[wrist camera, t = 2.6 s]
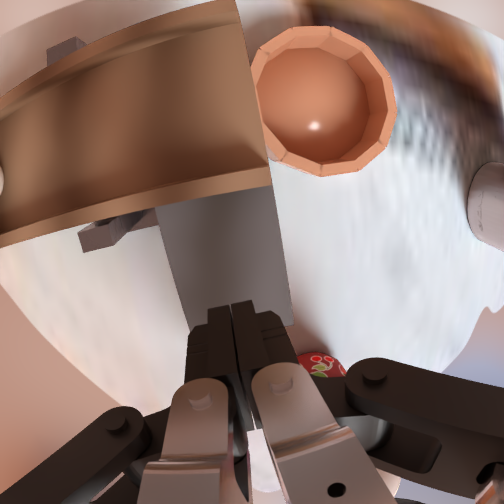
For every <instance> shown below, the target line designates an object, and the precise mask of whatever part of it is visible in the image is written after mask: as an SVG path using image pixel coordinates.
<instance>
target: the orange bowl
mask: <svg viewBox="0 0 504 504" xmlns="http://www.w3.org/2000/svg"><path fill="white" fill-rule="evenodd" d="M365 45H366V44H365V43H363V42H361V41H359V40H357V39H356V38H354V37H352V36H350V35H348V34H346V33H344V32H342V31H340V30H338V29H336V28H334V27H331V28H330V26H300V27H292V28H291V27H290V28H289V29H287V30H285V31H284V32H282V33H281V34H279V35H277V36H276V37H274V38H273V39H271V40H270V41H268V42H267V43H265V44H264V45H262V46H261V47H259V49H258V50H257V53H256V55H255V57H254V60H253V62H252V64H251V67H250V68H251V73H252V78H253V83H254V88H255V93H256V98H257V103H258V108H259V113H260V118H261V124H262V129H263V134H264V140H265V145H266V151H267V156H268V157H269V158H270V159H271V160H272V161H275V162H278V163H280V164H283V165H286V166H288V167H291V168H293V169H296V170H299V171H301V172H304V173H307V174H311V175H315V176H319V177H324V176H331V175H337V174H344V173H351V172H358V171H360V170H361V169H362V168H363V167H365V166H366V165H367V164H368V163H369V162H370V161H372V160H373V159H374V158H375V157H376V156H377V155H378V154H380V153H381V152H382V151H383V150H384V149H385V147H387V144H388V141H389V138H390V135H391V132H392V129H393V126H394V123H395V120H396V116H397V114H396V113H395V112H397V107H396V102H395V96H394V91H393V86H392V81H391V77H388V76H389V73H388V72H387V70H386V69H385V68H384V66H383V65H382V64H381V62H380V61H379V60H378V58H377V57H376V56H375V54H374V53H373V52H372V51H371V49H370V48H369V47H368V46H365Z"/></svg>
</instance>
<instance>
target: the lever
mask: <svg viewBox="0 0 504 504" xmlns="http://www.w3.org/2000/svg"><path fill="white" fill-rule="evenodd" d="M0 167H1V168H2V171H3V176H4V185H3V190H2V192H1V195H0V248H2V247H6V246H9V245H12V244H15V243H18V242H22V241H25V240H28V239H32V238H35V237H39V236H42V235H46V234H49V233H53V232H56V231H60V230H64V229H67V228H71V227H75V226H79V225H82V224H86V223H90V222H94V221H98V220H102V219H106V218H110V217H114V216H119V215H123V214H127V213H131V212H136V211H140V210H144V209H149V208H153V207H155V211H156V215H157V219H158V223H159V227H160V231H161V235H162V238H163V242H164V246H165V250H166V253H167V257H168V260H169V264H170V267H171V271H172V274H173V278H174V281H175V285H176V288H177V291H178V295H179V298H180V301H181V304H182V308H183V311H184V314H185V317H186V320H187V323H188V326H189V329H190V332H191V331H192V330H193V328H194V327H195V326H197V325H202V324H207V310H208V309H209V308H214V307H219V306H223V305H228V304H229V306H230V310H231V304H233V303H237V302H242V301H247V300H252V302H253V305H254V309H255V312H256V313H260V312H265V311H269V310H271V311H273V312H274V313H276V314H277V315H278V316H280V318H281V320H282V323H283V325H284V326H291V325H294V320H293V312H292V305H291V298H290V291H289V284H288V278H287V271H286V264H285V258H284V251H283V245H282V239H281V233H280V226H279V220H278V214H277V208H276V202H275V196H274V190H273V185H272V179H271V173H270V167H269V162H268V156H267V151H266V145H265V140H264V134H263V129H262V124H261V118H260V113H259V108H258V103H257V98H256V93H255V88H254V83H253V78H252V73H251V68H250V63H249V58H248V53H247V48H246V44H245V39H244V34H243V30H242V25H241V21H240V16H239V13H238V9H237V6H236V2H235V0H215V1H210V2H206V3H202V4H198V5H194V6H190V7H187V8H183V9H180V10H176V11H173V12H170V13H167V14H163V15H160V16H157V17H154V18H152V19H149V20H146V21H143V22H140V23H138V24H135V25H132V26H130V27H127V28H125V29H122V30H120V31H118V32H115V33H113V34H110V35H108V36H106V37H104V38H102V39H99V40H97V41H95V42H93V43H91V44H89V45H87V46H85V47H83V48H81V49H79V50H77V51H75V52H73V53H71V54H69V55H67V56H65V57H64V58H62V59H60V60H58V61H56V62H55V63H53V64H51V65H49V66H48V67H46V68H44V69H43V70H41V71H40V72H38V73H36V74H35V75H33V76H32V77H30V78H28V79H27V80H25V81H24V82H22V83H21V84H19V85H18V86H16V87H15V88H14V89H12V90H11V91H9V92H8V93H7V94H5V95H4V96H2V97H1V98H0ZM231 314H232V310H231Z"/></svg>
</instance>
